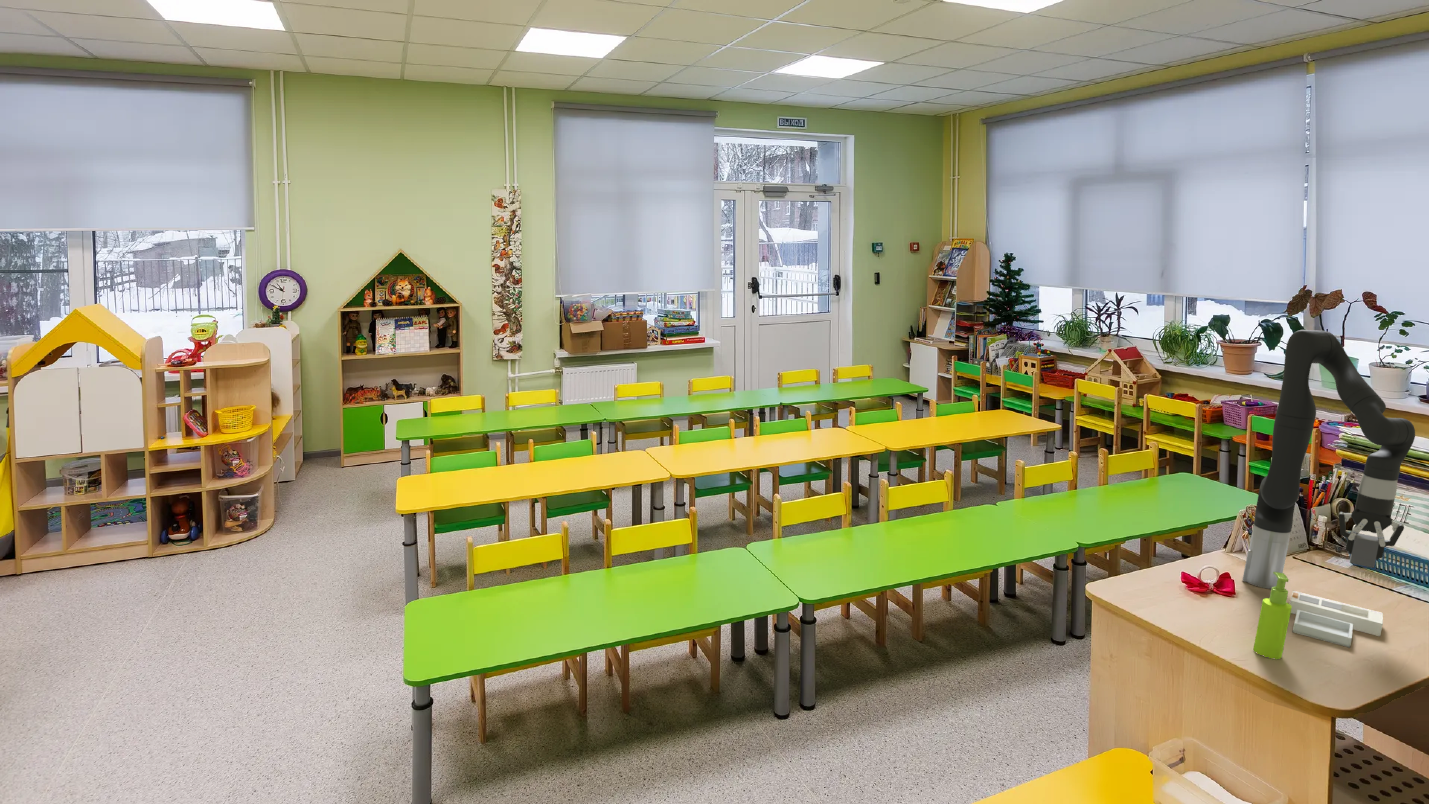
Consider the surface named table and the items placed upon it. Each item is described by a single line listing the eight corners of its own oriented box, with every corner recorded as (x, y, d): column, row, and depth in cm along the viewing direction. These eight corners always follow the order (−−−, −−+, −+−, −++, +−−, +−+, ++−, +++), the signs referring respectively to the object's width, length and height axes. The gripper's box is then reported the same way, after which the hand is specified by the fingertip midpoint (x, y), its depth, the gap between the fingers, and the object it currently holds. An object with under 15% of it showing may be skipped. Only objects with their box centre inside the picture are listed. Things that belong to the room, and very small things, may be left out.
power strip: (1287, 612, 231) (1290, 598, 230) (1290, 602, 238) (1293, 588, 237) (1379, 636, 219) (1383, 621, 218) (1380, 624, 226) (1383, 610, 225)
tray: (1292, 632, 219) (1294, 623, 218) (1295, 618, 227) (1297, 609, 227) (1349, 647, 211) (1351, 638, 211) (1350, 632, 220) (1352, 623, 220)
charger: (1349, 562, 221) (1354, 537, 220) (1350, 555, 227) (1355, 530, 225) (1373, 567, 218) (1379, 542, 217) (1373, 560, 224) (1378, 535, 222)
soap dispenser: (1276, 648, 209) (1291, 572, 205) (1284, 661, 202) (1300, 583, 198) (1249, 643, 211) (1263, 568, 207) (1256, 656, 204) (1271, 578, 200)
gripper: (1342, 490, 219) (1329, 552, 222) (1412, 503, 211) (1398, 567, 214) (1342, 484, 225) (1330, 545, 228) (1411, 497, 216) (1397, 559, 220)
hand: (1363, 555), depth 221 cm, fingers closed on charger, 5 cm apart
